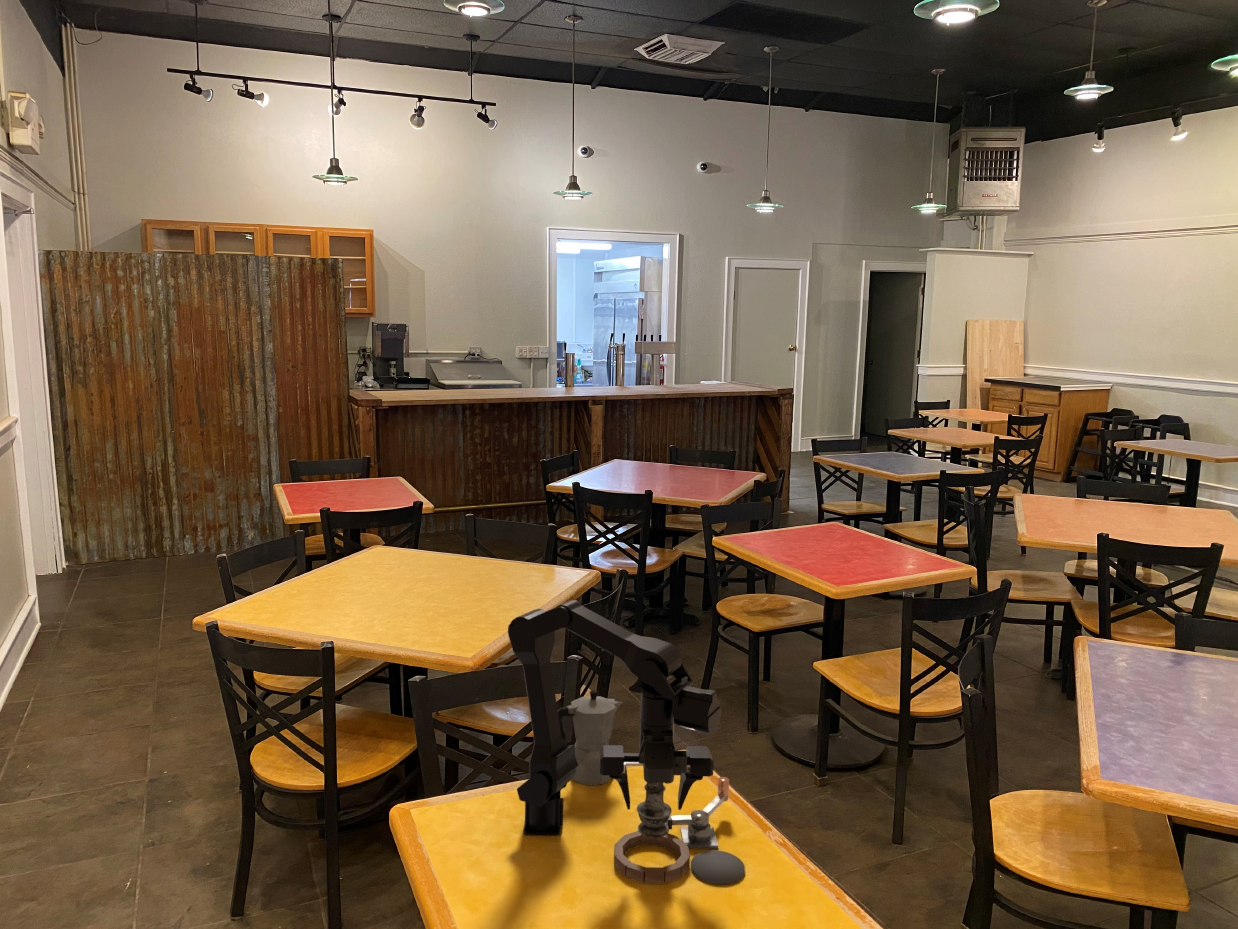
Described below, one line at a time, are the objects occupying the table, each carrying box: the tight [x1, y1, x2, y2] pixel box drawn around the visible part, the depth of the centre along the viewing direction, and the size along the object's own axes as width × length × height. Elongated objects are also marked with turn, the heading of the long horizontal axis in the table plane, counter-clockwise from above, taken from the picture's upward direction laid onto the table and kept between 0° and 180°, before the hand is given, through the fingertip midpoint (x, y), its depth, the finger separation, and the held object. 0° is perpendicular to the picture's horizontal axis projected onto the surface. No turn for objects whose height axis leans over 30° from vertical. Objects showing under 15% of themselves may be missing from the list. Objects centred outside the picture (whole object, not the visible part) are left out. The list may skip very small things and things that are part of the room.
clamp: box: [665, 776, 730, 830], centre depth 157 cm, size 7×16×4 cm, turn 149°
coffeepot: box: [557, 689, 623, 786], centre depth 175 cm, size 15×9×18 cm, turn 119°
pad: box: [690, 849, 746, 886], centre depth 145 cm, size 9×9×1 cm
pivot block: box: [679, 823, 719, 850], centre depth 154 cm, size 6×6×2 cm
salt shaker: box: [636, 782, 673, 838], centre depth 145 cm, size 6×6×12 cm
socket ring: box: [613, 830, 691, 885], centre depth 147 cm, size 13×13×2 cm
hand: (653, 808), depth 145 cm, fingers closed on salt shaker, 8 cm apart
